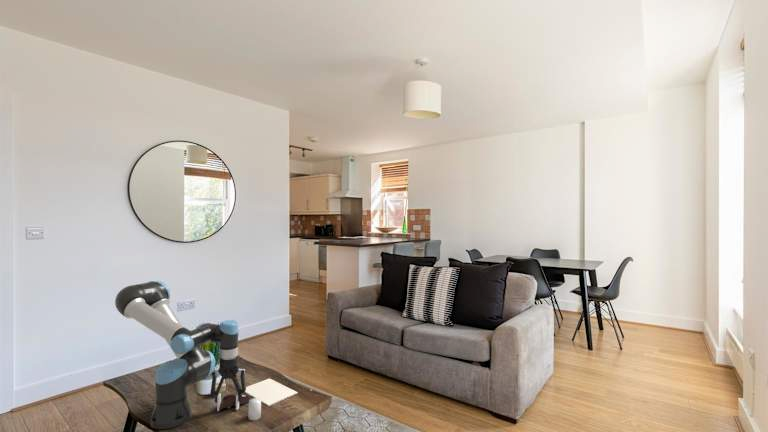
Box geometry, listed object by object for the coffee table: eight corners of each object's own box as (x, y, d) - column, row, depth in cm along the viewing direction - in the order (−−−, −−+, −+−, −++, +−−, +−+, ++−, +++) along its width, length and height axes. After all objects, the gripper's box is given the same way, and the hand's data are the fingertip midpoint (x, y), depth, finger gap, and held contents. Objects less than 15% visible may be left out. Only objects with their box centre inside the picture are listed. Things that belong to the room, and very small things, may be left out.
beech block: (225, 395, 180) (226, 385, 180) (214, 397, 177) (214, 387, 177) (224, 391, 184) (224, 381, 184) (213, 393, 182) (213, 383, 182)
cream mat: (297, 393, 182) (297, 392, 182) (268, 406, 169) (268, 405, 169) (269, 379, 197) (269, 378, 197) (240, 390, 185) (240, 389, 185)
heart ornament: (218, 415, 166) (225, 393, 175) (246, 416, 168) (252, 394, 177) (218, 406, 163) (224, 384, 172) (246, 407, 165) (252, 385, 174)
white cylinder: (259, 420, 158) (259, 403, 158) (247, 420, 157) (247, 403, 157) (261, 413, 163) (262, 397, 163) (250, 414, 162) (250, 398, 162)
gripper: (254, 352, 171) (253, 403, 171) (207, 354, 168) (206, 406, 168) (250, 358, 164) (250, 411, 164) (202, 361, 161) (201, 415, 161)
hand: (228, 408), depth 166 cm, fingers open, 7 cm apart
